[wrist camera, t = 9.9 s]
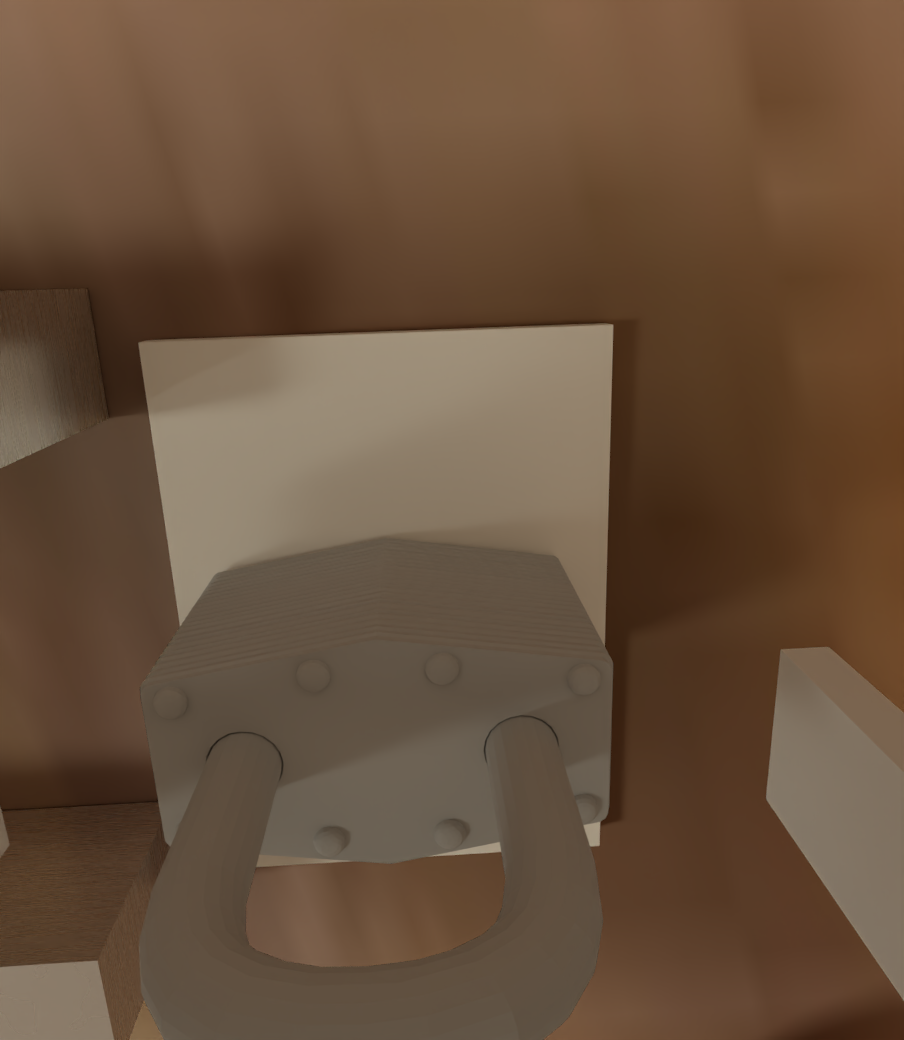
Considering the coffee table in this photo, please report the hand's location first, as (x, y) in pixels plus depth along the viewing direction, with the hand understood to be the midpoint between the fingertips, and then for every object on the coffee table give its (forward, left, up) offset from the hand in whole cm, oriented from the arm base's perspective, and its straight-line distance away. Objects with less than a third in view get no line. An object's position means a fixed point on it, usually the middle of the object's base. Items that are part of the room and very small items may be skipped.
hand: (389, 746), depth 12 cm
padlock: (0, 0, -5) cm, 5 cm away
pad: (0, 0, -5) cm, 5 cm away
